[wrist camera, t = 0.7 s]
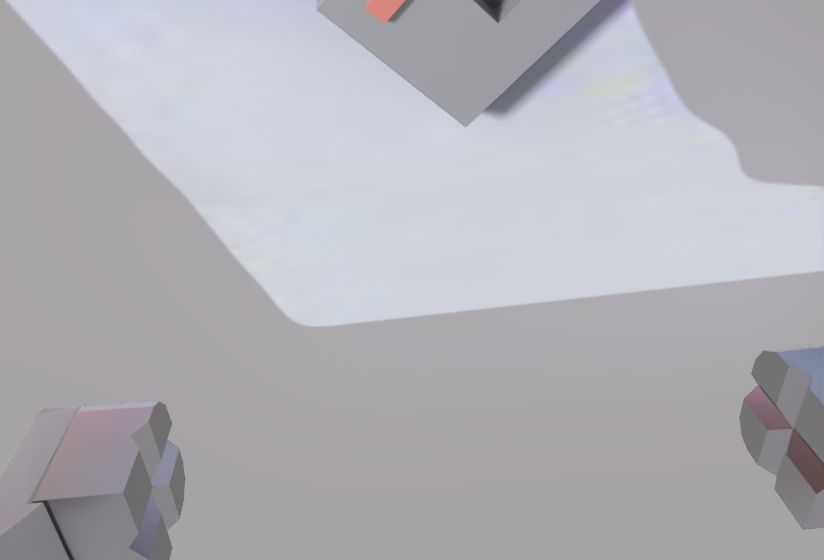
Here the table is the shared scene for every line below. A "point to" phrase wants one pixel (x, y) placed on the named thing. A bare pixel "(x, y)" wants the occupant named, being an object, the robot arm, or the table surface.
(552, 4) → the socket plate
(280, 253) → the table surface
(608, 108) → the table surface
